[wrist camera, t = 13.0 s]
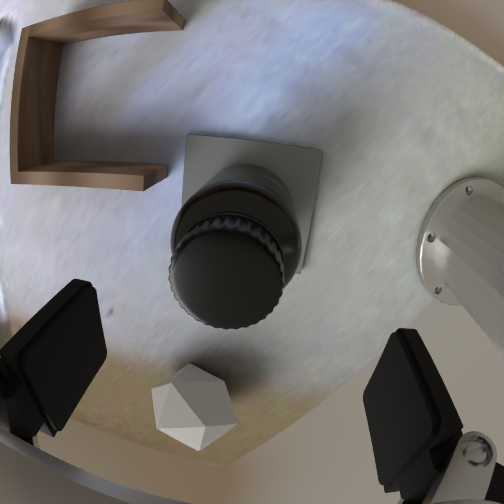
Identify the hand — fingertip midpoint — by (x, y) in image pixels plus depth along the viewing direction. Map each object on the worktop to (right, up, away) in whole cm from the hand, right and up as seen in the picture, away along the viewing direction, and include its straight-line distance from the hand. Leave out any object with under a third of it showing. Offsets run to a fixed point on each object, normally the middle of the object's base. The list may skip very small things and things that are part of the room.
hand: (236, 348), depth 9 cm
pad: (0, +7, +15) cm, 16 cm away
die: (-5, -11, +23) cm, 26 cm away
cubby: (-12, +15, +12) cm, 23 cm away
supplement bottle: (0, +6, +15) cm, 16 cm away
